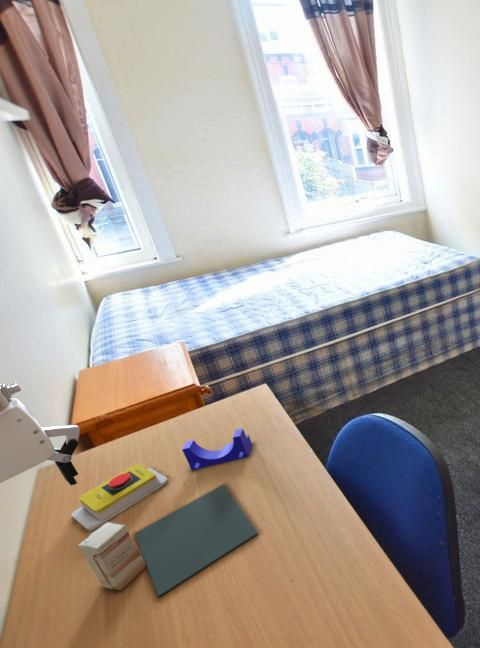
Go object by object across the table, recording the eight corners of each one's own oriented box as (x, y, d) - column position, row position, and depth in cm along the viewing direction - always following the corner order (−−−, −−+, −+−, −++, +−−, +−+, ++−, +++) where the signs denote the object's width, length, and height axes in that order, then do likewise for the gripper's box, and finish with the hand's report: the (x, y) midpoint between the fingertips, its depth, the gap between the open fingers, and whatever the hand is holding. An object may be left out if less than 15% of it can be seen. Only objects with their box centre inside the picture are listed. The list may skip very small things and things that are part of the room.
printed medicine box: (121, 591, 80) (94, 550, 76) (102, 587, 81) (74, 546, 77) (149, 564, 84) (125, 523, 80) (130, 560, 85) (106, 520, 81)
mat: (158, 597, 78) (158, 596, 78) (135, 534, 91) (134, 533, 91) (257, 534, 88) (257, 532, 88) (224, 485, 101) (223, 484, 101)
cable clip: (252, 444, 114) (244, 424, 111) (248, 456, 110) (239, 436, 107) (198, 457, 111) (188, 437, 109) (191, 470, 107) (181, 449, 105)
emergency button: (162, 465, 103) (79, 515, 91) (170, 481, 104) (89, 532, 93) (142, 454, 107) (61, 500, 96) (150, 469, 109) (71, 516, 97)
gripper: (43, 372, 72) (92, 459, 79) (-133, 437, 59) (-57, 535, 66) (59, 383, 68) (109, 474, 75) (-127, 456, 55) (-46, 558, 62)
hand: (31, 502), depth 70 cm, fingers open, 9 cm apart
